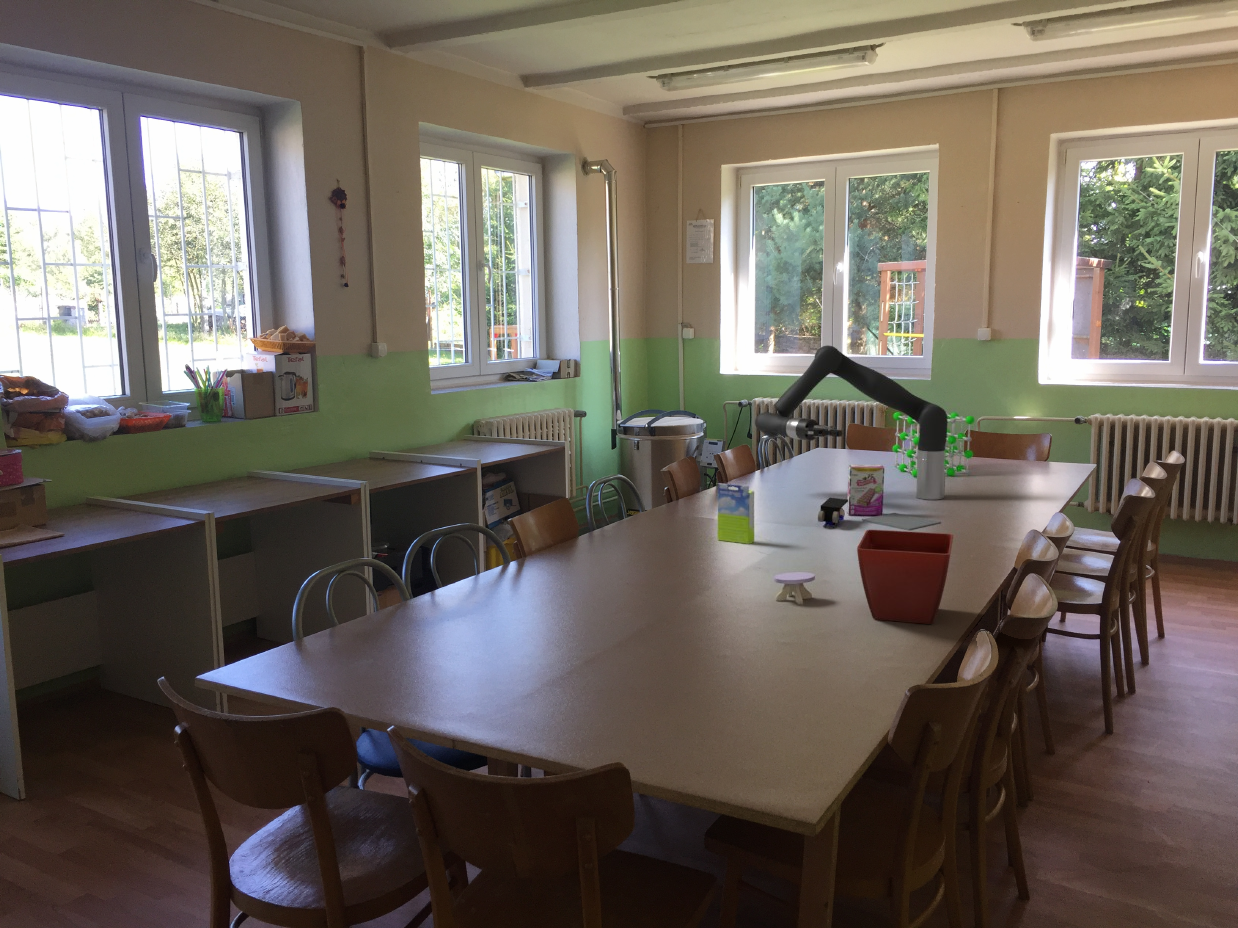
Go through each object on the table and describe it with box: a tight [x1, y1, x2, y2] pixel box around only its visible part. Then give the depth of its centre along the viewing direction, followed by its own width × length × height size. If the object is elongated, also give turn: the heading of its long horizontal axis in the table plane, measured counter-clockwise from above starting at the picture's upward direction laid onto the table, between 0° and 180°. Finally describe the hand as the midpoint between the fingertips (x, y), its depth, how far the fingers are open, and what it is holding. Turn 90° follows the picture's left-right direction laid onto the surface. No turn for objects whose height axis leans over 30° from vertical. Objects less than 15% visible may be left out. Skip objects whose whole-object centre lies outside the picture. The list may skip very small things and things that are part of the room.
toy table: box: [773, 571, 816, 605], centre depth 229 cm, size 10×9×6 cm
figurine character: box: [817, 497, 848, 529], centre depth 307 cm, size 7×8×15 cm
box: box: [717, 482, 755, 545], centre depth 286 cm, size 10×4×17 cm, turn 58°
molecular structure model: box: [892, 411, 975, 478], centre depth 399 cm, size 24×25×24 cm
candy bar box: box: [846, 464, 885, 517], centre depth 320 cm, size 11×5×16 cm, turn 84°
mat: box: [861, 512, 942, 531], centre depth 310 cm, size 16×18×1 cm
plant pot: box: [856, 529, 954, 625], centre depth 216 cm, size 19×19×17 cm
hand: (840, 433), depth 326 cm, fingers closed
